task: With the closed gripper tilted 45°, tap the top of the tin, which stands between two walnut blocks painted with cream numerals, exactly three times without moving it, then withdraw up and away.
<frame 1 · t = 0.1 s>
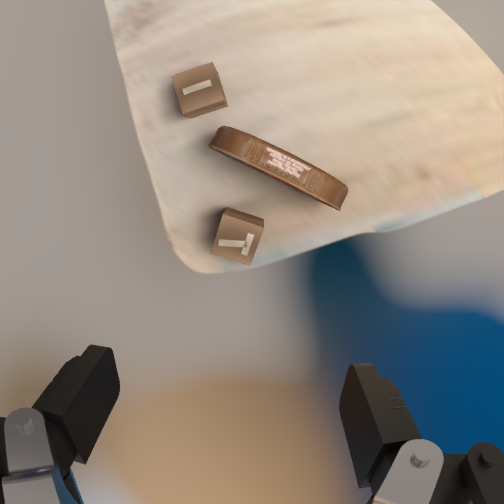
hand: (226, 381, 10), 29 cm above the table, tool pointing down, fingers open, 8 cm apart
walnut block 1: (204, 94, 34), on the table
tin: (277, 165, 36), on the table
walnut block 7: (239, 230, 39), on the table
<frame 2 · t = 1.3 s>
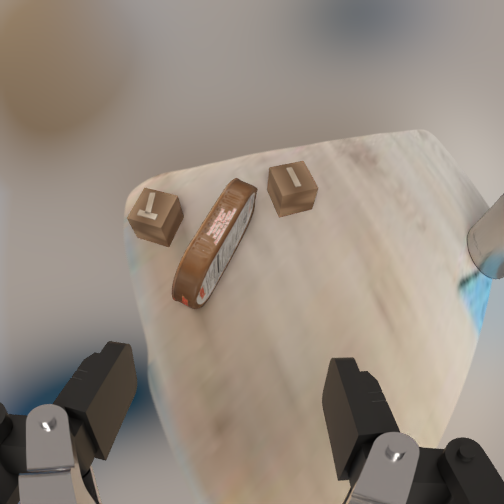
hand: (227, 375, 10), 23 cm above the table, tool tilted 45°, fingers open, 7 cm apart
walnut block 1: (289, 199, 42), on the table
tin: (221, 260, 38), on the table
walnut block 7: (160, 227, 39), on the table
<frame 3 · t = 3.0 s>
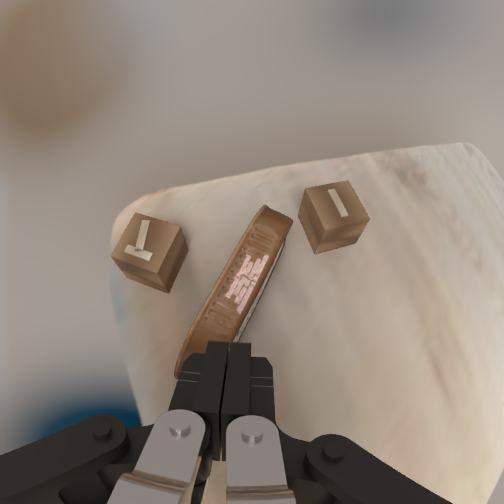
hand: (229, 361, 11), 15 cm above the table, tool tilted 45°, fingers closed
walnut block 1: (326, 229, 32), on the table
tin: (239, 313, 28), on the table
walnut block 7: (157, 264, 29), on the table
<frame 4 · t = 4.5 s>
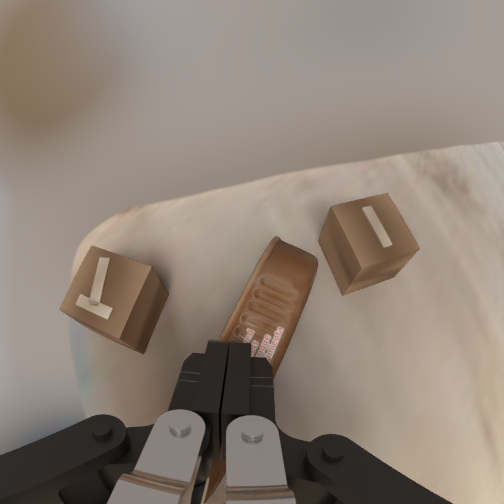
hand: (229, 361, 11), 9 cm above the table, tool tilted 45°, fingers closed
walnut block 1: (356, 259, 23), on the table
tin: (240, 383, 19), on the table, touching gripper
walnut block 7: (128, 313, 21), on the table
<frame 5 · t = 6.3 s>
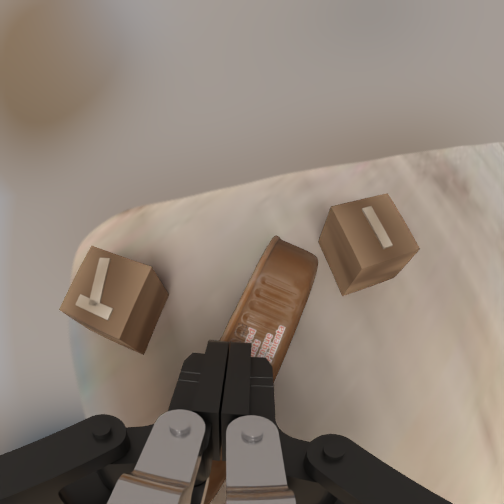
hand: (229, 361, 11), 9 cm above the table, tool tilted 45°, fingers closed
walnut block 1: (356, 260, 23), on the table
tin: (242, 382, 19), on the table, touching gripper
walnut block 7: (128, 313, 21), on the table
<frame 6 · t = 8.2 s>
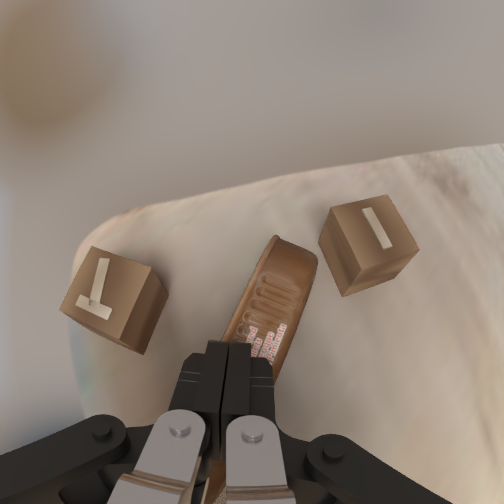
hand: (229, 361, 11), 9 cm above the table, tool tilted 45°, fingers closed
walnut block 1: (356, 261, 23), on the table
tin: (243, 382, 19), on the table, touching gripper
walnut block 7: (128, 313, 21), on the table
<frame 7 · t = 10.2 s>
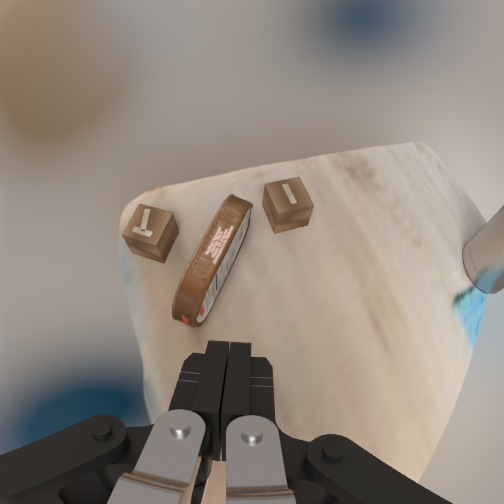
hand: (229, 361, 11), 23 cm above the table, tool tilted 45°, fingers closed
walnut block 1: (284, 215, 42), on the table
tin: (218, 276, 38), on the table
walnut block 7: (155, 243, 39), on the table
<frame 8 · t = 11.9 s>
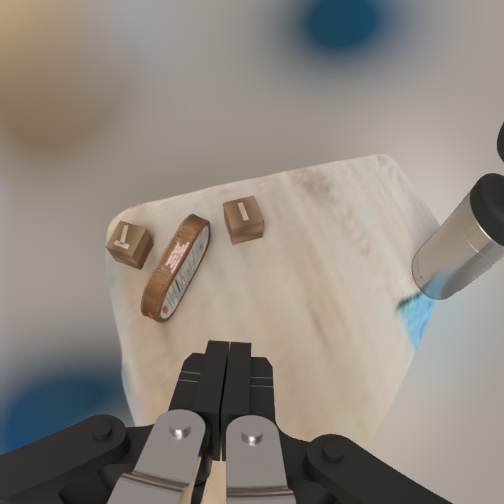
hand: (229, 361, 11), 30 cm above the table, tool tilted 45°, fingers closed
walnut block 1: (243, 228, 49), on the table
tin: (184, 280, 45), on the table
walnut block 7: (134, 252, 46), on the table
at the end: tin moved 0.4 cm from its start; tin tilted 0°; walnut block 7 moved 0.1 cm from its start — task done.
